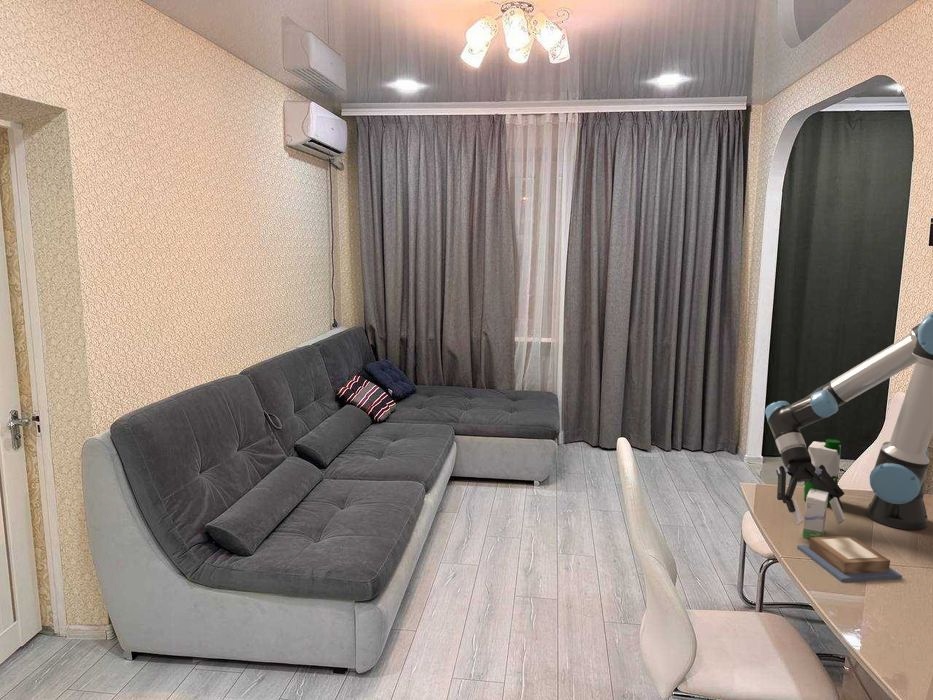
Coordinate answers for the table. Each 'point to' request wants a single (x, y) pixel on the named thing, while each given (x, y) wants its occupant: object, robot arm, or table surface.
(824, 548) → the walnut plinth
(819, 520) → the ink box
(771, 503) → the table surface
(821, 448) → the milk carton
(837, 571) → the board
